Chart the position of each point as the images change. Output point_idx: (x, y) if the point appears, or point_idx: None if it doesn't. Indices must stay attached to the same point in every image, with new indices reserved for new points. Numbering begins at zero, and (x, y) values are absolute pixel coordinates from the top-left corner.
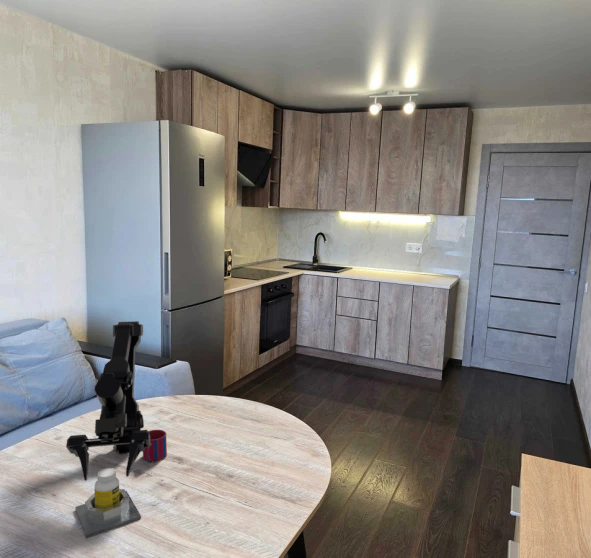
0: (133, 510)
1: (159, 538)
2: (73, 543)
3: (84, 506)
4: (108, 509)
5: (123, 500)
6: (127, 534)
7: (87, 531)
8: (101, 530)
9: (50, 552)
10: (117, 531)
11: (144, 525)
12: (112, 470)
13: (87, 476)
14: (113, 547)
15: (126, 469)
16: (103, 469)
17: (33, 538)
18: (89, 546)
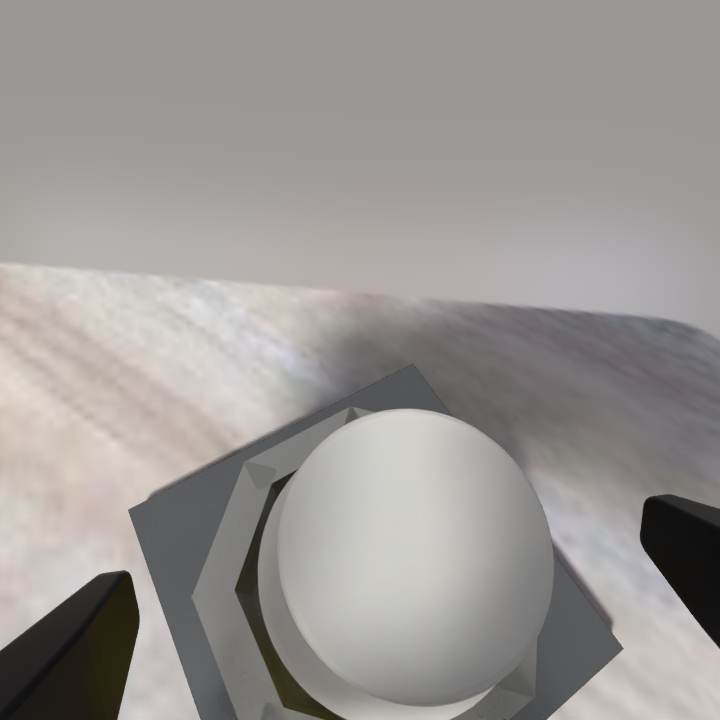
0: (182, 574)
1: (40, 344)
2: (453, 346)
3: (559, 650)
4: (325, 433)
5: (232, 542)
6: (207, 384)
7: (415, 386)
8: (346, 399)
9: (521, 306)
10: (264, 410)
11: (115, 449)
12: (336, 591)
13: (679, 580)
14: (261, 309)
15: (86, 623)
16: (507, 632)
17: (661, 392)
18: (371, 323)
